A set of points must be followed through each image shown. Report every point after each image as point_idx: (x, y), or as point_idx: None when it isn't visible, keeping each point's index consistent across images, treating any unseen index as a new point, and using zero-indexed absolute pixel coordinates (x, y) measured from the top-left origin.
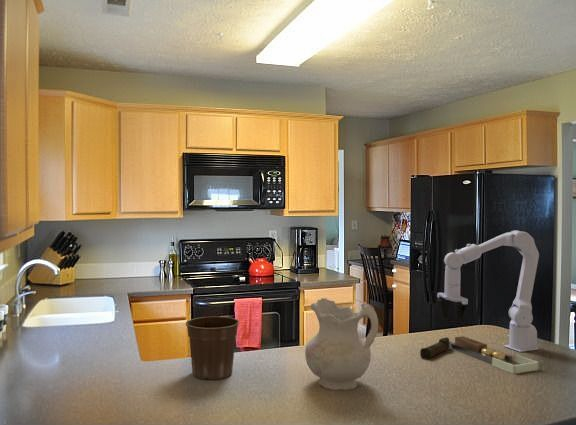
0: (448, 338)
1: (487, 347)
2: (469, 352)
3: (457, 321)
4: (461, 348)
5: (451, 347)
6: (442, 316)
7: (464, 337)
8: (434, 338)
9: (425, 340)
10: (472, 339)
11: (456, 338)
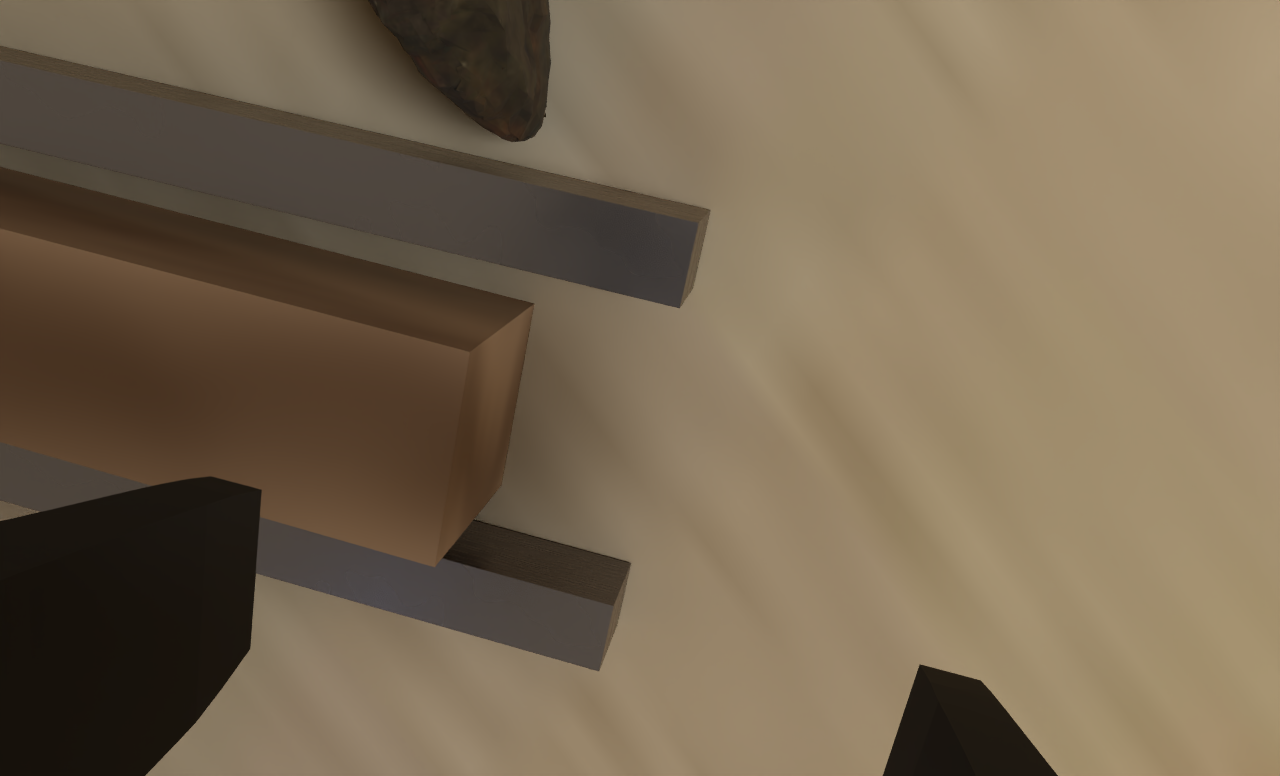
0: (383, 17)
1: (17, 502)
2: (20, 58)
3: (181, 490)
4: (205, 105)
5: (495, 164)
6: (960, 692)
7: (359, 501)
8: (1182, 518)
9: (1226, 216)
10: None
11: (429, 334)
